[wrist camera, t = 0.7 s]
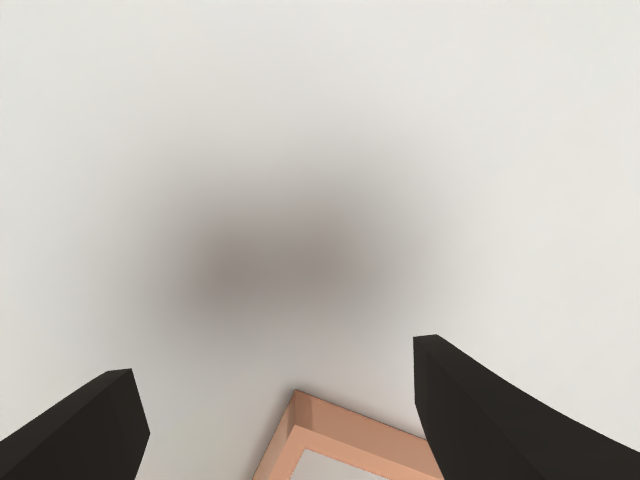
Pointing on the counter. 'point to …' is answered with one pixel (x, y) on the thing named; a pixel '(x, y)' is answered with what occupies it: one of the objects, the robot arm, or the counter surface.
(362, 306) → the counter surface
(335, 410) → the terracotta bay
